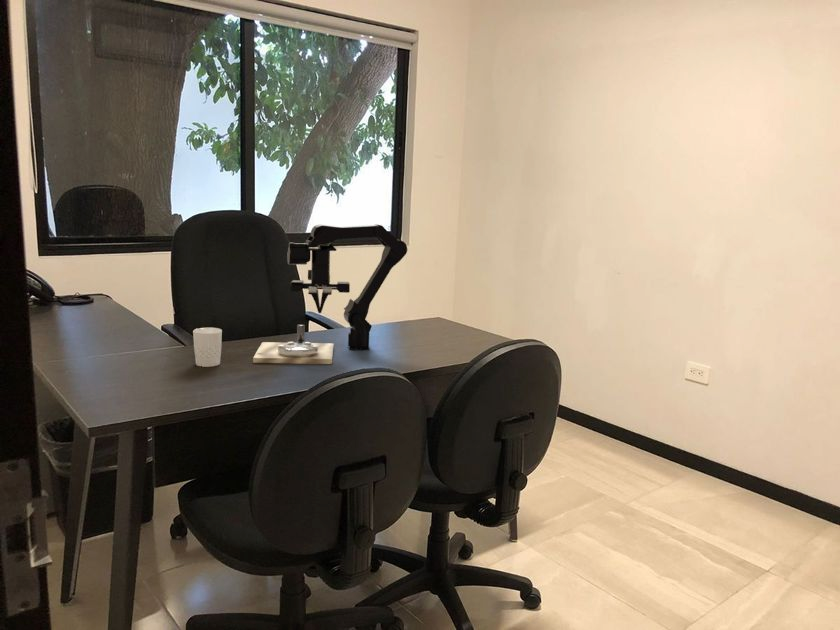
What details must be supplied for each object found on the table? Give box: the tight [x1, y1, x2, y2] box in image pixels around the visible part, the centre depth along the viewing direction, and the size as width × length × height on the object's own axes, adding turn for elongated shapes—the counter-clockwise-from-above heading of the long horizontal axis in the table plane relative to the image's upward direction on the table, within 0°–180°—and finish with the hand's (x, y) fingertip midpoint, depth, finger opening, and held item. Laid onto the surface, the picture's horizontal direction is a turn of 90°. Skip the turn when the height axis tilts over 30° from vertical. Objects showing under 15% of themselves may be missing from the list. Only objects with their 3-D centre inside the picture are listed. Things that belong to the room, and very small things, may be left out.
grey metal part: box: [278, 324, 318, 357], centre depth 201 cm, size 18×12×6 cm, turn 6°
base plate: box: [252, 341, 334, 365], centre depth 201 cm, size 23×20×2 cm
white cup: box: [192, 327, 223, 368], centre depth 186 cm, size 8×8×10 cm
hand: (319, 312), depth 208 cm, fingers closed
